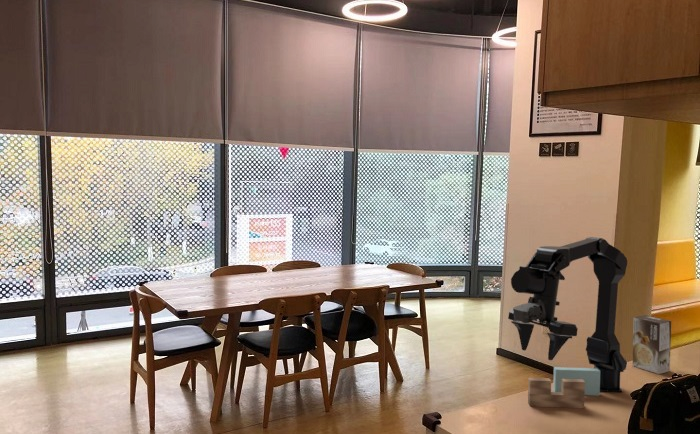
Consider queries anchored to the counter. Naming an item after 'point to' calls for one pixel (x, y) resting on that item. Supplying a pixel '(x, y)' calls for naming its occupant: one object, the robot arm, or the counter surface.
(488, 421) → the counter surface
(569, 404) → the walnut slotted plate
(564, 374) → the teal slotted plate
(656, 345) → the coffee box
